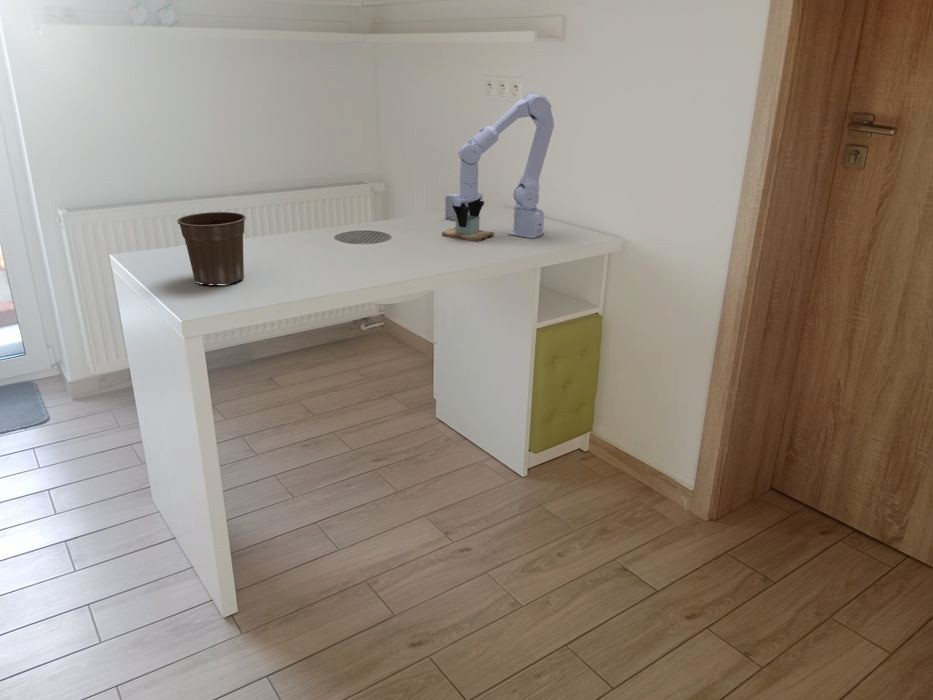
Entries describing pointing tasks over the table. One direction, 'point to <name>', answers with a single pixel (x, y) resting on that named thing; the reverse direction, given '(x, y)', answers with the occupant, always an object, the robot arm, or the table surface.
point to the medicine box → (451, 207)
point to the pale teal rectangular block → (469, 225)
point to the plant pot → (215, 246)
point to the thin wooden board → (474, 237)
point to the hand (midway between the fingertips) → (468, 225)
